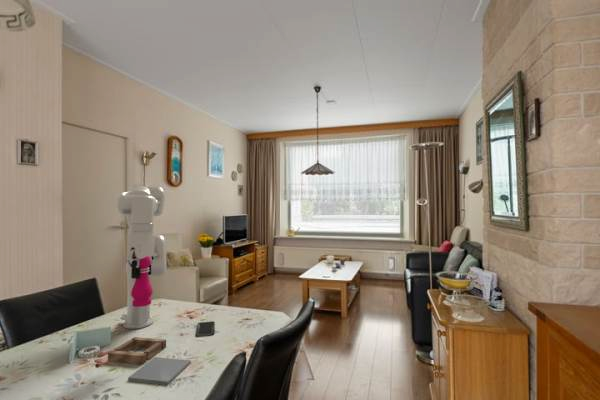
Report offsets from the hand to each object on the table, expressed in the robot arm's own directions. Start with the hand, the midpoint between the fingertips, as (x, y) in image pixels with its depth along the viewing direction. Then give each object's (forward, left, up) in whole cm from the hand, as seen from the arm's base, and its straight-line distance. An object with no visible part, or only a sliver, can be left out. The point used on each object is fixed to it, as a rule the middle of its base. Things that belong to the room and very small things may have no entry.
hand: (141, 276), depth 120 cm
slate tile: (+14, -9, -30) cm, 34 cm away
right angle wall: (-20, -1, -30) cm, 36 cm away
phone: (+12, +28, -30) cm, 43 cm away
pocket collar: (-2, +1, -30) cm, 30 cm away
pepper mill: (0, 0, -11) cm, 11 cm away
